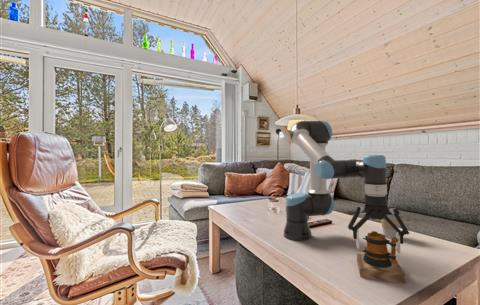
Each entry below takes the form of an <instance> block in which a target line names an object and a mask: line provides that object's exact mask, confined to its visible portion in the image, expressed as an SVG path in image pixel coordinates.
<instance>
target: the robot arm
mask: <svg viewBox="0 0 480 305" xmlns="http://www.w3.org/2000/svg"><path fill="white" fill-rule="evenodd" d="M332 137H333V130H332V126H331V125H330V124H329V122H327V121H325V120H301V121H297V122H296V123H294V124H293V125H292V126H291V128H290V130H289V138H290V140H291V141H292V143H293V144H294V145H296V146H298V147H299V148H300V149H301V150H302V151H303V153H304V154H305V156H307V157H308V158H309V171H310V172H309V173H310V176H309V177H310V189H309V190H308V191H307V193H305V192H295V193H291V194H288V195H286V198H285V211H286V212H285V214H286V216H285V217H286V222H285V225H284V228H283V236H284V238H286V239H288V240H292V241H307V240H310V239H312V230H311V227H310V225H309V221H308V220H309V218H308V217H317V216H319V217H320V216H327V215H330V214H331V213H332V212H333V211H334V209H335V199H334V197H333V195H332V194H331V193H330V191H329V189H327V180H330V179H350V178H361V179H363V180H364V182H363V183H364V194H365V195H364V207H363V206H359V205H356V207H355V211H354V214H353V215H352V218H351V220H350V222H349V223H348V226H347V228H348V230H351V231H352V232H353V233H352V238H353V240H356V248H357V250H360V232H359V229H360V228H361V227H362V226H363V225H364V224H365V223H366V222H367V221H369V219H372V220H380V221H381V220H382V219H385V220H386V221H387V222H388V223H389V224H390V225H391V226H392V227H393V228H394V229H395V230H396V231H397V233H396V238H397V239H398V242H397V243H396V253H397V254H401V245H403V244H404V236H405V235H410V231H409V230H408V228H407V227H406V224H405V223H404V221H403V219H402V218H401V217H400V214H398V211H399V210H398V208H396V207H395V206H394V207H390V209H388V204H389V203H388V196H387V195H388V186H387V185H388V184H387V176H388V174H387V161H386V160H387V159H386V156H385V155H383V154H372V155H371V154H367V155H364V156H363V159H356V158H355V159H352V158H351V159H348V160H347V159H345V160H344V159H343V160H338V159H337V160H335V159H334V158H333V157H331V155H330V154H329V153H328V152H327V151H326V147H327V146H328V145H329V142H330V141H331V139H332ZM363 211H364V212H365V214H364V215H363V217H362V218H360V220H359V221H358V222H357V223H356V221H357V220H358V218H359V216H360V214H361V213H362V212H363ZM389 212H391V213H392V214H394V216H395V218H396V219H397V221H398V225H399V226H400V227H401V229H400V228H399V227H397V226H396V225H395V224H394V223H393V222H392V221H391V220H390V219H389V218H388V217H387V216H386V215H387V214H388V213H389ZM355 223H356V224H355Z"/></svg>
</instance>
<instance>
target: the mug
mask: <svg viewBox="0 0 480 305" xmlns="http://www.w3.org/2000/svg"><path fill="white" fill-rule="evenodd" d="M362 239H363V240H365V241H366V247H364V250H363V249H362V250H361V252H364V253H363V254H364V256H363V260H364V261H365V263H367V264H369V265H372V266H375V267H381V268H387V267H390V266H391V265H392V264H397V262H398V260H397V256H396V253H397V251H396V243H397V242H398V239H397V238H396V237H393V238H392V239H391V238H390V240H389V239H388V238H386V237H385V235H384V234H383V233H380V232H378V231H376V230H373V231H371V232H367V235H364V237H362ZM387 245H390V246H391V247H390V249H391V250H390V252H389V251H388V246H387ZM390 258H391V260H390ZM396 260H397V261H396Z"/></svg>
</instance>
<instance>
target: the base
mask: <svg viewBox="0 0 480 305" xmlns="http://www.w3.org/2000/svg"><path fill="white" fill-rule="evenodd" d="M364 254H365V253H356V263H357V268H358V273H359V276H360V278H367V279H373V280H379V281H386V282H392V283H393V282H394V283H400V284H406V283H407V282H406V279H407V278H406V274H405V272H404V270H403V268H402V267H401V265H400V264H399V262H398V260H397V259H396V261H397V264H392V265H391V266H390V267H387V268H381V267H375V266H372V265H369V264H367V263H365V261H364V260H363V256H364ZM390 260H391V258H390Z"/></svg>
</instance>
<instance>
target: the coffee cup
mask: <svg viewBox="0 0 480 305" xmlns="http://www.w3.org/2000/svg"><path fill="white" fill-rule="evenodd" d="M390 208H391V207H388V209H390ZM400 214H401V213H400V211H399V210H398V215H400ZM386 216H387V217H388V218H389V219H390V220H391V221H392V222H393V223H394V224H395V225H396V226H397V227H398V226H399V223H398V221H397V219H396V218H395V216H394V214H392V213H391V212H389V213H388V214H387V215H386ZM380 222H381V228H382V234H383V235H385V238H386V239H390V240H391V239H392V238H393V237H396V233H397V234H398V232H397V231H396V230H395V229H394V228H393V227H392V226H391V225H390V224H389V223H388V222H387V221H386V220H385V219H382V220H380ZM398 228H399V227H398Z"/></svg>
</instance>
